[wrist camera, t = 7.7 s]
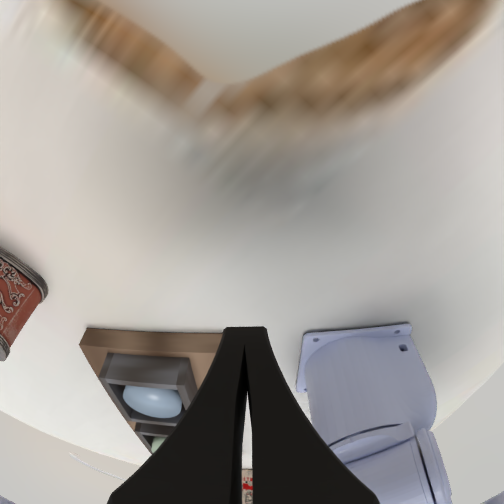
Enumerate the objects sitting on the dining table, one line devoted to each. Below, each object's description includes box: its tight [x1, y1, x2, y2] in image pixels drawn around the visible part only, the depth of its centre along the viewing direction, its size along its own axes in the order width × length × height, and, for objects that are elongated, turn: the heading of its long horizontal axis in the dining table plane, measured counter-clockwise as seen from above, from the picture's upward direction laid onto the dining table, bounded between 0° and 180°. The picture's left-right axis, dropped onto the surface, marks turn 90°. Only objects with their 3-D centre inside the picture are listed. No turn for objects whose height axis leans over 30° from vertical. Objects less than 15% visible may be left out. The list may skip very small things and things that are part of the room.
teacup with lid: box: [242, 469, 252, 504], centre depth 37 cm, size 12×9×12 cm
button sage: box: [151, 436, 167, 453], centre depth 26 cm, size 5×5×2 cm
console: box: [79, 328, 223, 454], centre depth 28 cm, size 12×26×5 cm, turn 1°
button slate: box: [123, 385, 182, 418], centre depth 22 cm, size 5×5×2 cm
